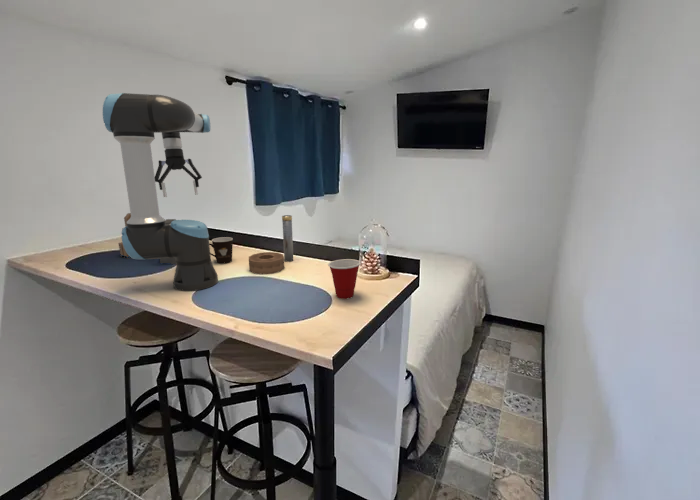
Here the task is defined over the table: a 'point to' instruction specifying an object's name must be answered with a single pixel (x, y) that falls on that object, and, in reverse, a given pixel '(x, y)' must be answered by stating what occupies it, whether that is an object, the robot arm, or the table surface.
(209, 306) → the table surface
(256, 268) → the brown thick ring
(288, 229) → the metal rod
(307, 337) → the table surface
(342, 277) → the plastic cup
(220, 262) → the coffee mug
